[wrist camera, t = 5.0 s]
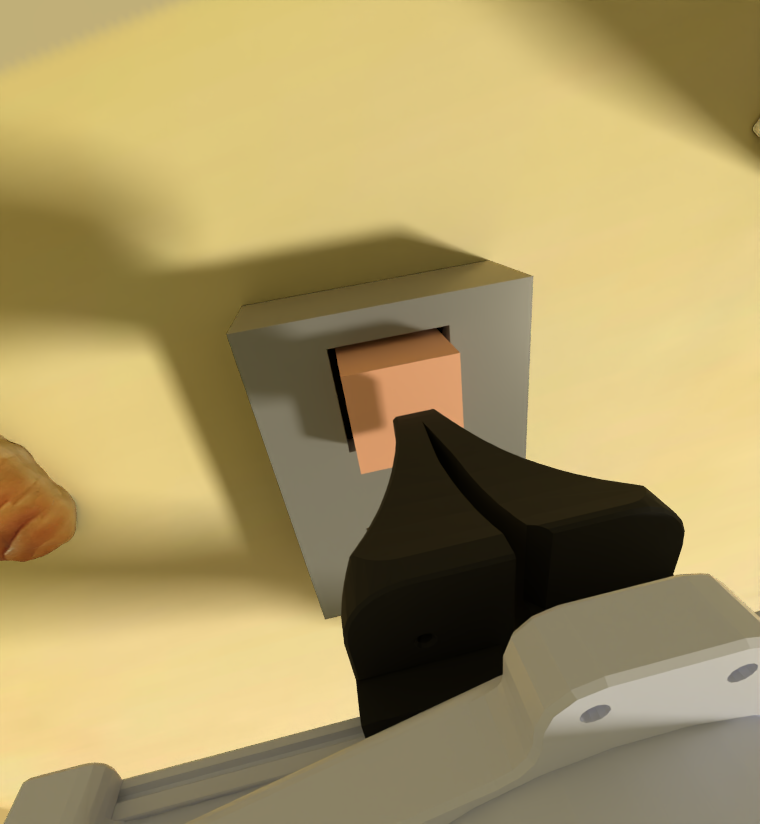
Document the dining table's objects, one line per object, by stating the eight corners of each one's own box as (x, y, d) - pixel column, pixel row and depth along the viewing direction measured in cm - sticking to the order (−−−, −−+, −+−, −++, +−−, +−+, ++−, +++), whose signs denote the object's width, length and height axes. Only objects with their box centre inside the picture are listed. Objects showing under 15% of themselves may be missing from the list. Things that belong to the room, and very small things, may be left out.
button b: (438, 408, 18) (464, 451, 15) (351, 426, 18) (361, 474, 15) (431, 323, 16) (460, 352, 13) (333, 342, 16) (340, 376, 13)
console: (491, 520, 26) (520, 571, 22) (322, 560, 25) (325, 619, 22) (489, 260, 18) (533, 276, 15) (242, 305, 17) (226, 334, 14)
